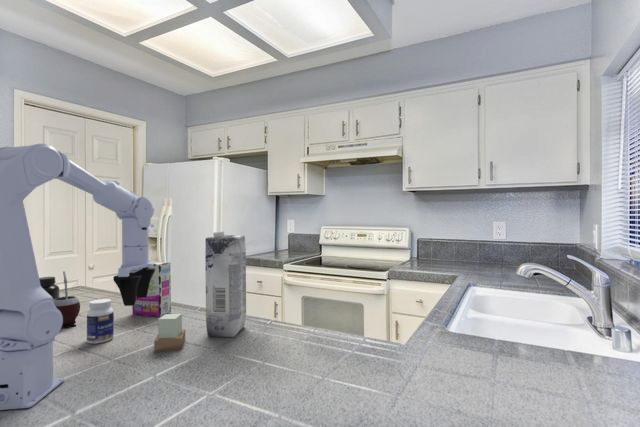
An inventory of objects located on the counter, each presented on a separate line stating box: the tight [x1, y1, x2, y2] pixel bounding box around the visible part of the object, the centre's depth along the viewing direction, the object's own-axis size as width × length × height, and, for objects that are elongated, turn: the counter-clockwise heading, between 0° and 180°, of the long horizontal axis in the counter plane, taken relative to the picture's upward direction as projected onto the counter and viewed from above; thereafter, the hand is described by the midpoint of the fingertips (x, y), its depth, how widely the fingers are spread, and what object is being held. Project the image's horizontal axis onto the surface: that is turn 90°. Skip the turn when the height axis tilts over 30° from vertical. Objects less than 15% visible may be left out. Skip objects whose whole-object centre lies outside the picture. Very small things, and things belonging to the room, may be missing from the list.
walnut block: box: [153, 329, 186, 353], centre depth 82 cm, size 6×6×3 cm
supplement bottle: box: [39, 276, 61, 300], centre depth 108 cm, size 7×7×12 cm
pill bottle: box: [86, 298, 115, 345], centre depth 86 cm, size 6×6×10 cm
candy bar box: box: [131, 261, 172, 318], centre depth 109 cm, size 11×5×16 cm, turn 73°
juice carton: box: [204, 230, 247, 338], centre depth 92 cm, size 9×10×27 cm
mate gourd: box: [53, 271, 81, 329], centre depth 98 cm, size 8×8×15 cm
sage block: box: [157, 313, 183, 338], centre depth 82 cm, size 4×4×4 cm
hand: (135, 301), depth 84 cm, fingers open, 7 cm apart
